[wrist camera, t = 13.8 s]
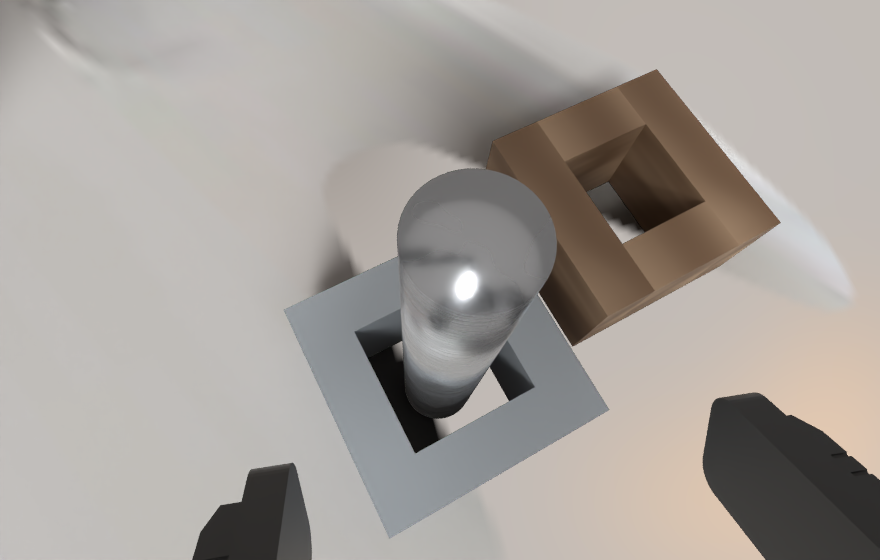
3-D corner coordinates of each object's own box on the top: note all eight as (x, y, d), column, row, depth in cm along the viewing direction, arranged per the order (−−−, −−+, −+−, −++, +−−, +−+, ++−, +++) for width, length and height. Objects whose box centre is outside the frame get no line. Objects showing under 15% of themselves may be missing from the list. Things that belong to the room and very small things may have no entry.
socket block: (393, 528, 23) (389, 538, 18) (306, 341, 26) (283, 309, 21) (571, 424, 25) (609, 409, 20) (474, 260, 28) (487, 214, 23)
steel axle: (424, 430, 25) (445, 343, 10) (393, 371, 25) (369, 206, 10) (482, 398, 25) (587, 270, 10) (450, 341, 26) (505, 146, 11)
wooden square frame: (572, 346, 26) (607, 316, 22) (479, 197, 29) (492, 140, 24) (719, 266, 28) (780, 222, 23) (619, 132, 31) (656, 69, 26)
